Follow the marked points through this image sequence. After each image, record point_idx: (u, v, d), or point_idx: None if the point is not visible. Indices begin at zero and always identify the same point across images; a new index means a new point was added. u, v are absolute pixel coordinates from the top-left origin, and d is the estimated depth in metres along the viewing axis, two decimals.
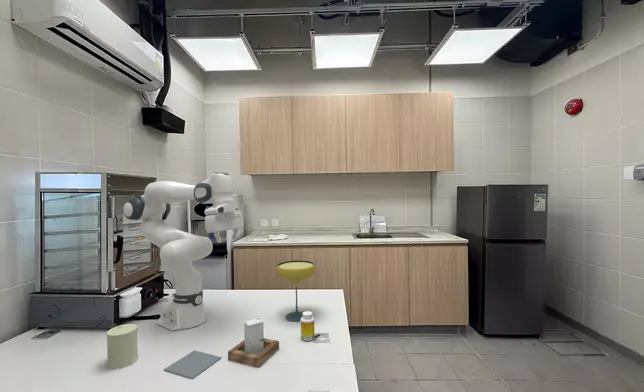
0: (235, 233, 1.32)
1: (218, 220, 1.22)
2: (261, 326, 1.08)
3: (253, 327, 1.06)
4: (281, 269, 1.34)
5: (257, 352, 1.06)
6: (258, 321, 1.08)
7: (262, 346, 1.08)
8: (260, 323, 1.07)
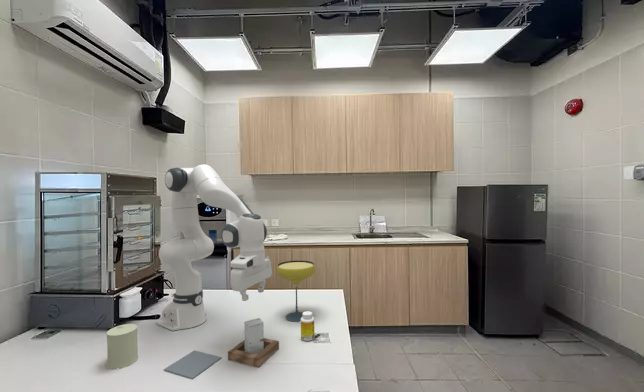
0: (262, 285, 1.13)
1: (246, 275, 1.02)
2: (261, 326, 1.08)
3: (253, 327, 1.06)
4: (281, 269, 1.34)
5: (257, 352, 1.06)
6: (258, 321, 1.08)
7: (262, 346, 1.08)
8: (260, 323, 1.07)
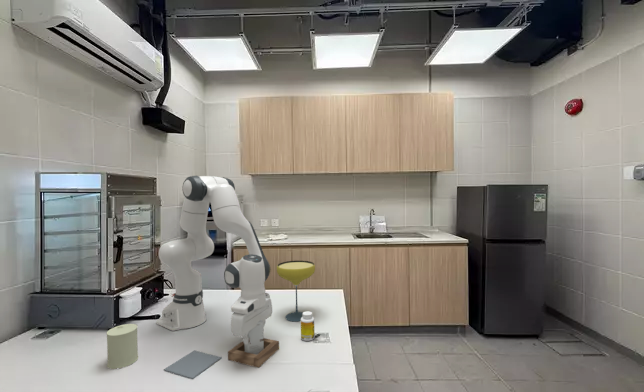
0: None
1: (246, 319, 1.02)
2: (261, 326, 1.08)
3: None
4: (281, 269, 1.34)
5: (257, 352, 1.06)
6: None
7: (262, 346, 1.08)
8: (260, 323, 1.07)
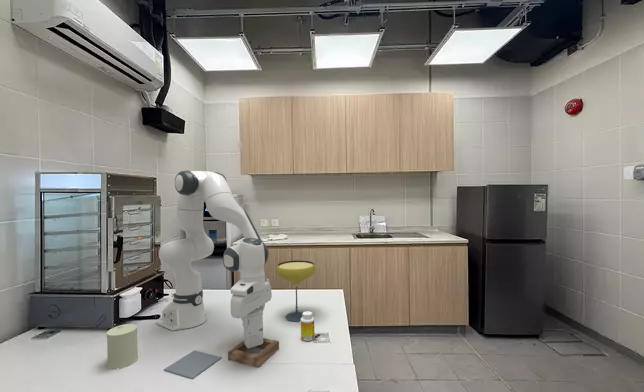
0: (261, 309, 1.12)
1: (246, 301, 1.02)
2: (260, 316, 1.08)
3: (252, 317, 1.06)
4: (281, 269, 1.34)
5: (257, 341, 1.07)
6: (257, 311, 1.08)
7: (262, 335, 1.08)
8: (259, 313, 1.07)
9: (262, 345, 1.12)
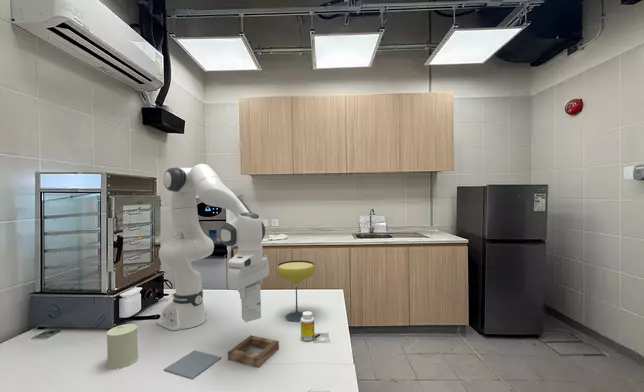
0: None
1: (243, 274, 1.02)
2: (257, 290, 1.07)
3: (250, 291, 1.06)
4: (281, 269, 1.34)
5: (254, 315, 1.07)
6: (255, 285, 1.08)
7: (259, 310, 1.08)
8: (257, 287, 1.07)
9: (262, 345, 1.12)
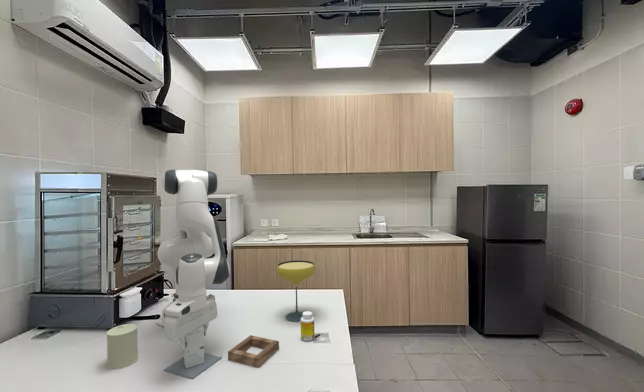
0: (204, 328, 1.07)
1: (182, 322, 0.96)
2: (201, 333, 1.02)
3: (192, 334, 1.00)
4: (281, 269, 1.34)
5: (196, 360, 1.01)
6: (198, 328, 1.02)
7: (202, 354, 1.02)
8: (200, 330, 1.02)
9: (262, 345, 1.12)
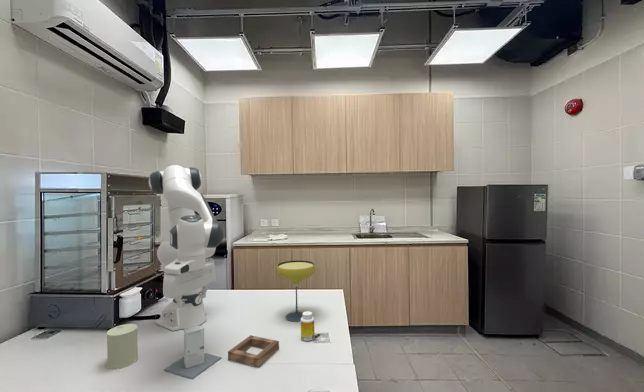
0: (204, 290, 1.07)
1: (181, 281, 0.96)
2: (201, 333, 1.02)
3: (192, 334, 1.00)
4: (281, 269, 1.34)
5: (196, 361, 1.01)
6: (198, 328, 1.02)
7: (202, 354, 1.02)
8: (200, 330, 1.02)
9: (262, 345, 1.12)
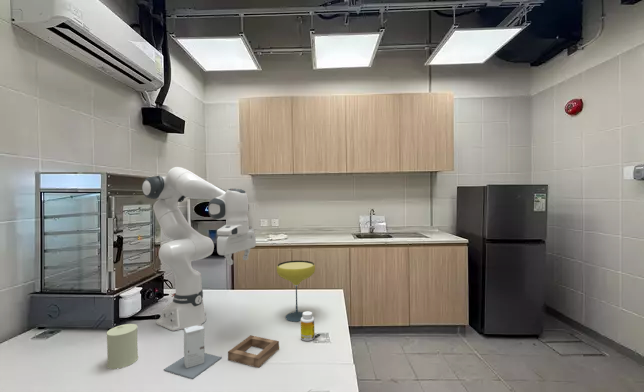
0: (246, 253, 1.25)
1: (231, 242, 1.14)
2: (201, 333, 1.02)
3: (192, 334, 1.00)
4: (281, 269, 1.34)
5: (196, 361, 1.01)
6: (198, 328, 1.02)
7: (202, 354, 1.02)
8: (200, 330, 1.02)
9: (262, 345, 1.12)
